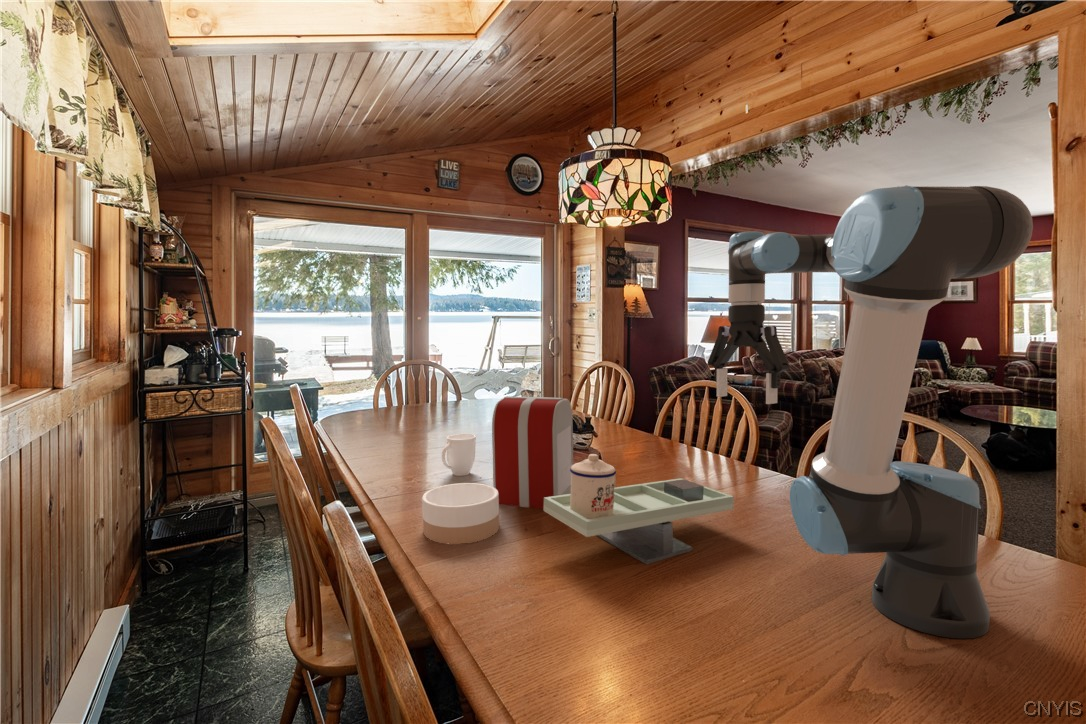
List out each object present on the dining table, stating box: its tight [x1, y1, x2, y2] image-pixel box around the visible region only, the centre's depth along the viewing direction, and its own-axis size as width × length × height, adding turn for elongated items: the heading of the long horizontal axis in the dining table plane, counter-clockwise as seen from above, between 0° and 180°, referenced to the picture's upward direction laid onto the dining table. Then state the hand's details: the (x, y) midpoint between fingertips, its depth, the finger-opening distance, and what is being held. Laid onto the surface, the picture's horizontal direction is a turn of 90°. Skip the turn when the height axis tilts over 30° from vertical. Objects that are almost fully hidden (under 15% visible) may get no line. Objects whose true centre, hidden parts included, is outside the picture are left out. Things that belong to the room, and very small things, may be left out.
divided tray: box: [543, 477, 735, 538], centre depth 114 cm, size 16×38×3 cm, turn 119°
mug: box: [441, 433, 477, 477], centre depth 167 cm, size 12×9×12 cm
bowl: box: [421, 482, 500, 545], centre depth 123 cm, size 17×17×8 cm
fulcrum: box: [596, 521, 693, 566], centre depth 114 cm, size 18×12×7 cm, turn 29°
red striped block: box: [491, 395, 574, 510], centre depth 144 cm, size 17×18×27 cm
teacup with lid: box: [570, 453, 617, 519], centre depth 109 cm, size 12×9×12 cm
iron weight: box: [664, 478, 705, 502], centre depth 120 cm, size 6×6×3 cm
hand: (745, 399), depth 121 cm, fingers open, 13 cm apart
